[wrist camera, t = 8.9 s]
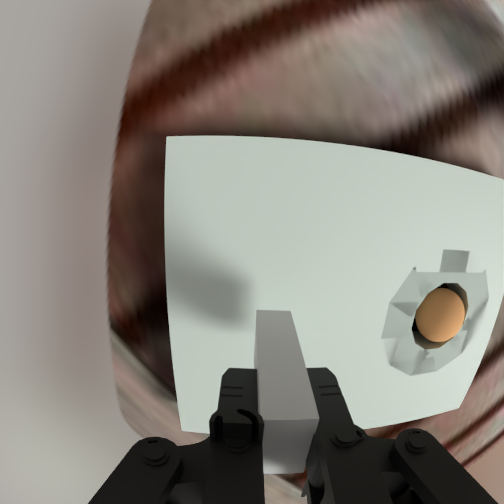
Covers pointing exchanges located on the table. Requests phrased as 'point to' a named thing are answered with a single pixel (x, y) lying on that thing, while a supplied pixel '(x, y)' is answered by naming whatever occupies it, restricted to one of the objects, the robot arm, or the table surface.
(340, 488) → the robot arm
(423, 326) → the ball
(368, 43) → the table surface
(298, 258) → the plate
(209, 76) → the table surface
